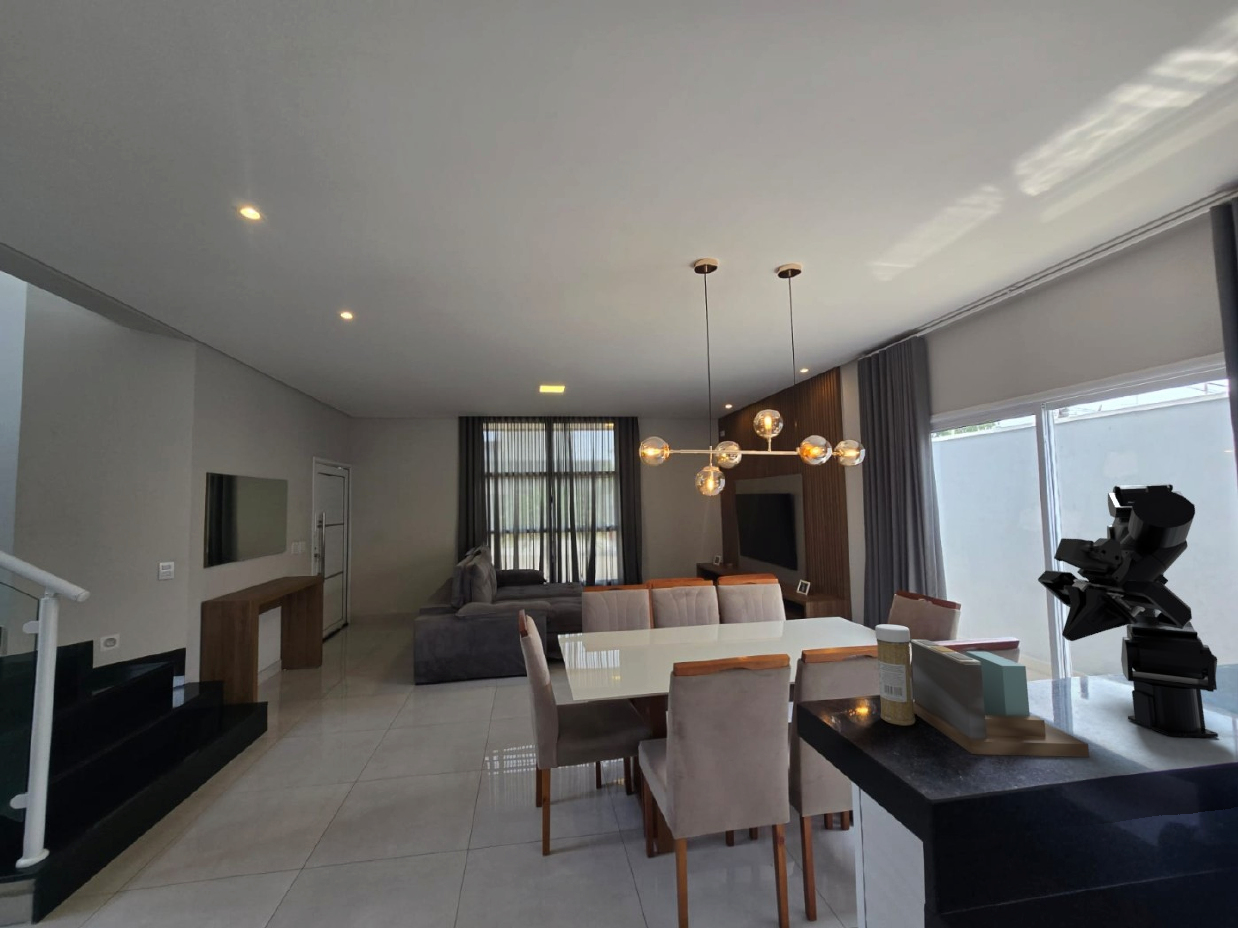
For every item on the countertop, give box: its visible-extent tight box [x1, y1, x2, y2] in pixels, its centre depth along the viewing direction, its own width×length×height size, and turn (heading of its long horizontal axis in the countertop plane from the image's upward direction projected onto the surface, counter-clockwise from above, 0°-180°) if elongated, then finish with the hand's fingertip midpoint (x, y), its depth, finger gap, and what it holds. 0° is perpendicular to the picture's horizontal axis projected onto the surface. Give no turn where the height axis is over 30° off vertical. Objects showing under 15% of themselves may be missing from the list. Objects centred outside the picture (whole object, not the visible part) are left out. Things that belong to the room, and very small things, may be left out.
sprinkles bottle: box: [874, 623, 916, 727], centre depth 77 cm, size 5×5×14 cm
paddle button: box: [965, 650, 1031, 716], centre depth 73 cm, size 3×8×8 cm, turn 177°
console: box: [910, 639, 1090, 758], centre depth 74 cm, size 14×16×11 cm
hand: (1066, 638), depth 74 cm, fingers closed
